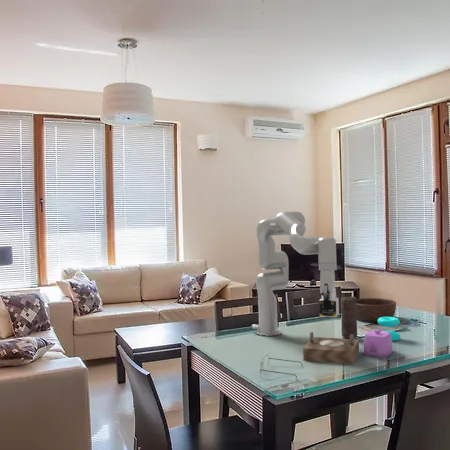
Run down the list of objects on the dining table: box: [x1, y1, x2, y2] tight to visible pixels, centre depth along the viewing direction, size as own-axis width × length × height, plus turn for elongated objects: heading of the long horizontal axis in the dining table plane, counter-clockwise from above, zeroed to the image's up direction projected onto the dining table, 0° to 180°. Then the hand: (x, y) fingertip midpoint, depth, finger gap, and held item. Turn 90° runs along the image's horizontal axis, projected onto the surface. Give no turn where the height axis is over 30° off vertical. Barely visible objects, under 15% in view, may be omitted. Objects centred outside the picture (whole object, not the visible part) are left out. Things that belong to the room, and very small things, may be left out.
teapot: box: [363, 328, 393, 359], centre depth 199 cm, size 18×10×10 cm, turn 146°
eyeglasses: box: [259, 354, 303, 379], centre depth 180 cm, size 16×15×5 cm
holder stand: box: [302, 331, 360, 365], centre depth 199 cm, size 20×20×9 cm
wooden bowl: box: [356, 297, 397, 323], centre depth 270 cm, size 25×25×10 cm
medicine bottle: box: [318, 287, 340, 318], centre depth 200 cm, size 7×7×12 cm
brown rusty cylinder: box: [340, 296, 358, 339], centre depth 227 cm, size 8×7×20 cm
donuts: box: [377, 316, 401, 342], centre depth 223 cm, size 10×10×10 cm
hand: (329, 307), depth 200 cm, fingers closed on medicine bottle, 7 cm apart
